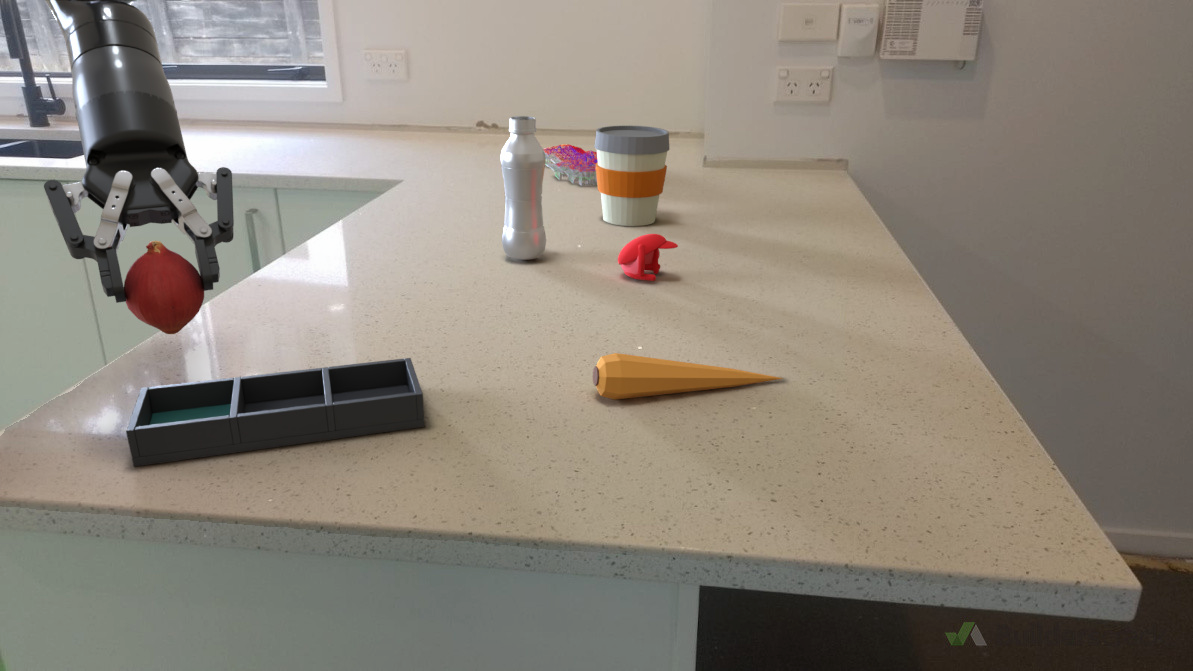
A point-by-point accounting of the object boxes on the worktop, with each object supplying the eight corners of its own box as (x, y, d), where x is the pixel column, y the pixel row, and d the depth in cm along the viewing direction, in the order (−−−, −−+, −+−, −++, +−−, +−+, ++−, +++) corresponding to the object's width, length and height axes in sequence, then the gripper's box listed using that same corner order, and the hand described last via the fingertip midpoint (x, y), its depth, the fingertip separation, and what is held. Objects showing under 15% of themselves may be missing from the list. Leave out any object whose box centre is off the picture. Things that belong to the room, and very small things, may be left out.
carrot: (594, 409, 80) (603, 377, 77) (586, 374, 84) (595, 342, 80) (783, 409, 86) (799, 379, 82) (769, 377, 89) (784, 347, 86)
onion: (138, 324, 71) (119, 232, 68) (212, 317, 73) (197, 227, 70) (128, 351, 66) (107, 253, 63) (208, 342, 68) (192, 247, 65)
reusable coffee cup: (680, 219, 145) (685, 131, 139) (633, 233, 136) (637, 139, 131) (624, 206, 153) (628, 123, 147) (577, 218, 144) (579, 130, 138)
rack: (133, 467, 68) (125, 431, 67) (147, 420, 75) (140, 387, 74) (424, 426, 75) (422, 393, 74) (412, 388, 82) (410, 357, 81)
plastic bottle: (504, 265, 119) (501, 121, 111) (499, 251, 125) (496, 114, 118) (549, 263, 120) (549, 121, 113) (542, 250, 126) (542, 114, 119)
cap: (622, 285, 112) (623, 241, 110) (613, 271, 118) (615, 229, 115) (680, 283, 114) (682, 240, 111) (668, 269, 119) (671, 228, 117)
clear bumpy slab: (531, 160, 192) (531, 137, 190) (595, 158, 196) (596, 135, 194) (560, 188, 165) (560, 162, 163) (633, 186, 169) (634, 160, 167)
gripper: (18, 91, 65) (51, 283, 60) (219, 84, 71) (263, 257, 66) (36, 148, 71) (67, 327, 66) (219, 137, 78) (260, 298, 73)
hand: (165, 291), depth 66 cm, fingers closed on onion, 5 cm apart
